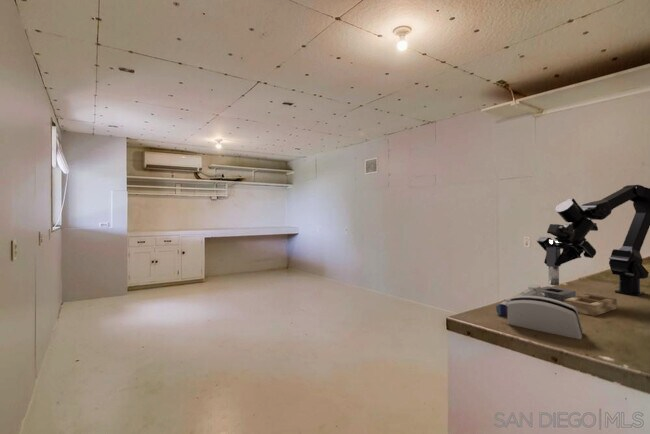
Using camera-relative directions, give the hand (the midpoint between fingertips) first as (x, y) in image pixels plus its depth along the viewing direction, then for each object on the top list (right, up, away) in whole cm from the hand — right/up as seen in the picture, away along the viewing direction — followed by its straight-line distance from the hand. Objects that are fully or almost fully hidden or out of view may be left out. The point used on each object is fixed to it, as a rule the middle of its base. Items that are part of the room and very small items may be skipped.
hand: (550, 264), depth 115 cm
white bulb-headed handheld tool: (-15, -13, -9) cm, 22 cm away
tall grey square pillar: (+2, -7, 0) cm, 7 cm away
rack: (+5, -12, -11) cm, 17 cm away
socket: (+2, -12, +1) cm, 12 cm away
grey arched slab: (-21, -14, -28) cm, 38 cm away
